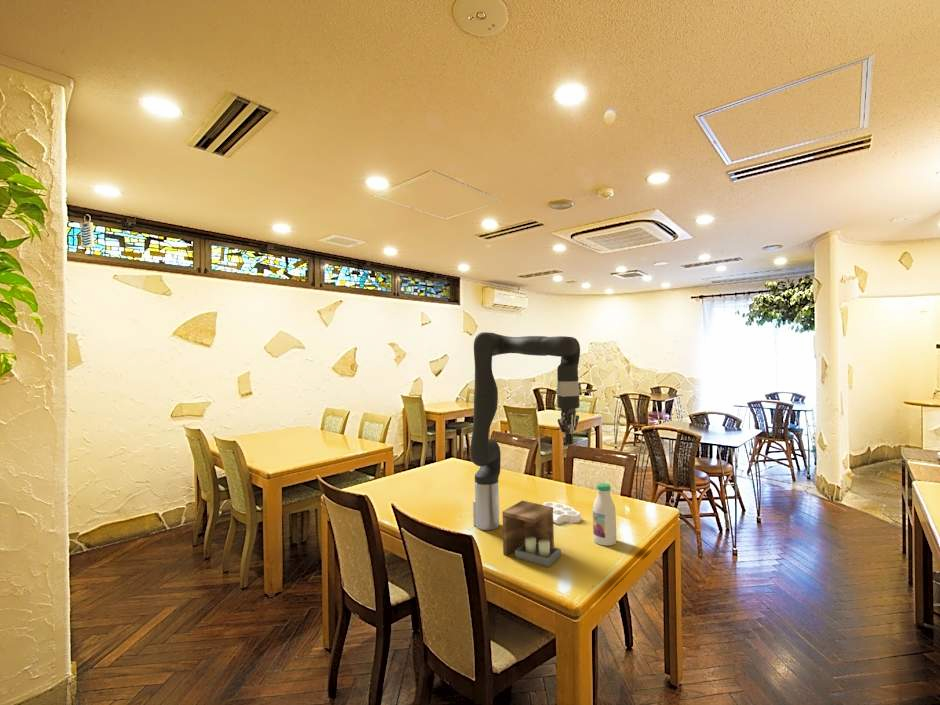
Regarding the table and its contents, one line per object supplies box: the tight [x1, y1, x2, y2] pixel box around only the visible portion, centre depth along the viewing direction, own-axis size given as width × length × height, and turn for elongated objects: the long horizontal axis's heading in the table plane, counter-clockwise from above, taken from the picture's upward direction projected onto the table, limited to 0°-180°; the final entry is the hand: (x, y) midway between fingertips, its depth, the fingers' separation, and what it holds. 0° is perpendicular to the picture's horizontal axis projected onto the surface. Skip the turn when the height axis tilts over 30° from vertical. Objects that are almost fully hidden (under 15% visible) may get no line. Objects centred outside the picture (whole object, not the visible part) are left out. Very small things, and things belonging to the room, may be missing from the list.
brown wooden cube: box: [502, 500, 555, 556], centre depth 141 cm, size 12×13×14 cm
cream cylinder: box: [525, 536, 536, 555], centre depth 138 cm, size 4×4×5 cm
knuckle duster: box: [542, 501, 581, 525], centre depth 171 cm, size 3×18×15 cm
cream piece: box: [538, 539, 550, 558], centre depth 136 cm, size 4×4×5 cm
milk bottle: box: [592, 482, 617, 547], centre depth 147 cm, size 8×8×20 cm
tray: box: [514, 542, 562, 569], centre depth 137 cm, size 12×9×3 cm
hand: (569, 444), depth 144 cm, fingers closed
